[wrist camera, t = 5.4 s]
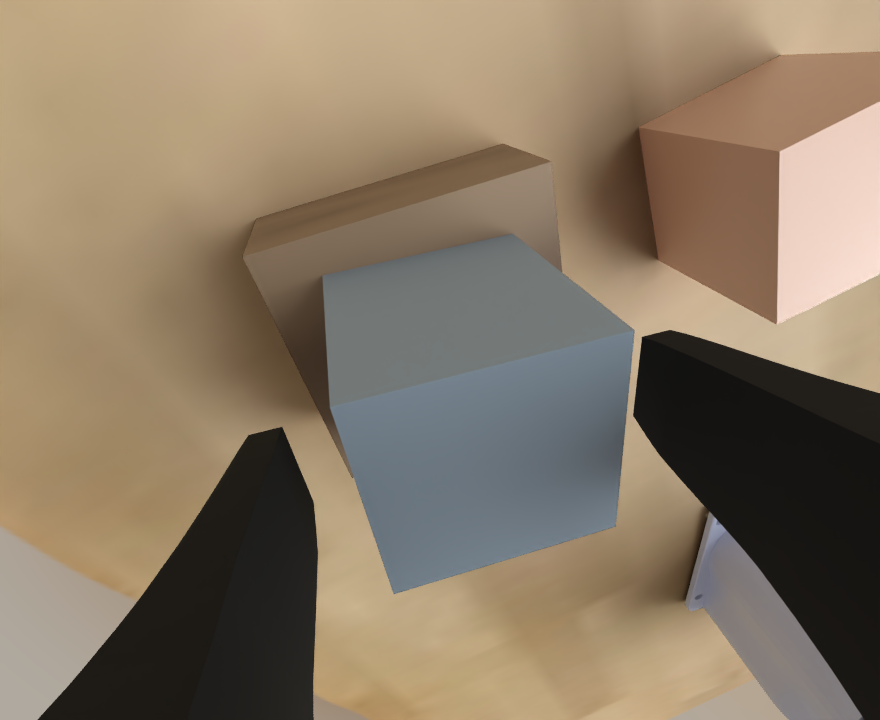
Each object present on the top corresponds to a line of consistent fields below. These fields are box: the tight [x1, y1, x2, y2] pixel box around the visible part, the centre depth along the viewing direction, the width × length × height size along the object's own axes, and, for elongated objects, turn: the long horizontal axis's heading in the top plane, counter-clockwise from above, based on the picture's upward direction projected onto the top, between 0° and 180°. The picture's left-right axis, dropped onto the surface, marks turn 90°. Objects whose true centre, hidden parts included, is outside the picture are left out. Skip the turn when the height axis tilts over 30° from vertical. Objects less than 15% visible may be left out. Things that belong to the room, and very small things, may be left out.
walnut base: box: [243, 144, 562, 478], centre depth 14 cm, size 7×7×4 cm
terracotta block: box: [639, 52, 880, 324], centre depth 13 cm, size 4×4×5 cm
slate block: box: [322, 234, 635, 594], centre depth 10 cm, size 4×4×5 cm
